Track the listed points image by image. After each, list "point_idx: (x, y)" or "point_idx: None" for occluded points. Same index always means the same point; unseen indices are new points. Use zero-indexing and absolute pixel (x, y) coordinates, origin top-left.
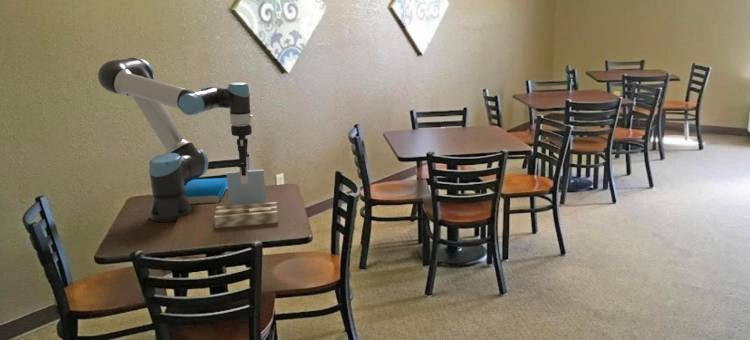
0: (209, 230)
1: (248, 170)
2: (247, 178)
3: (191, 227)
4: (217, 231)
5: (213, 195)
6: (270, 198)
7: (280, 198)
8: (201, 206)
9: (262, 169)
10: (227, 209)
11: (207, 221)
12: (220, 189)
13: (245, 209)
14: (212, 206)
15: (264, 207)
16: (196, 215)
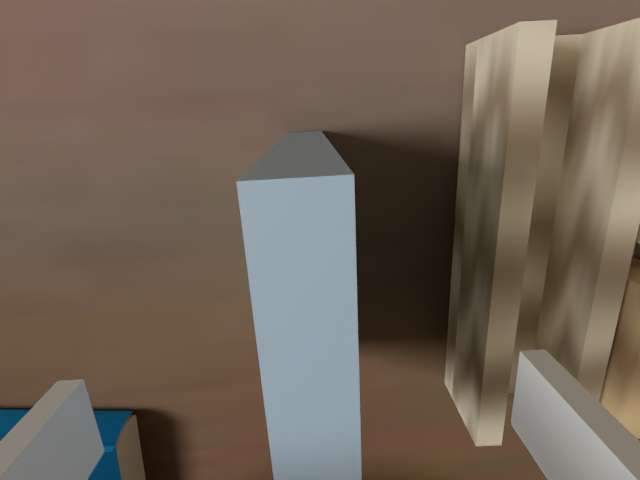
0: None
1: (276, 442)
2: (591, 398)
3: (501, 471)
4: None
5: (118, 470)
6: (55, 112)
7: (54, 28)
8: (198, 477)
9: (248, 205)
10: (633, 388)
11: (440, 423)
12: None
13: (616, 273)
14: (204, 432)
15: (635, 131)
16: None
